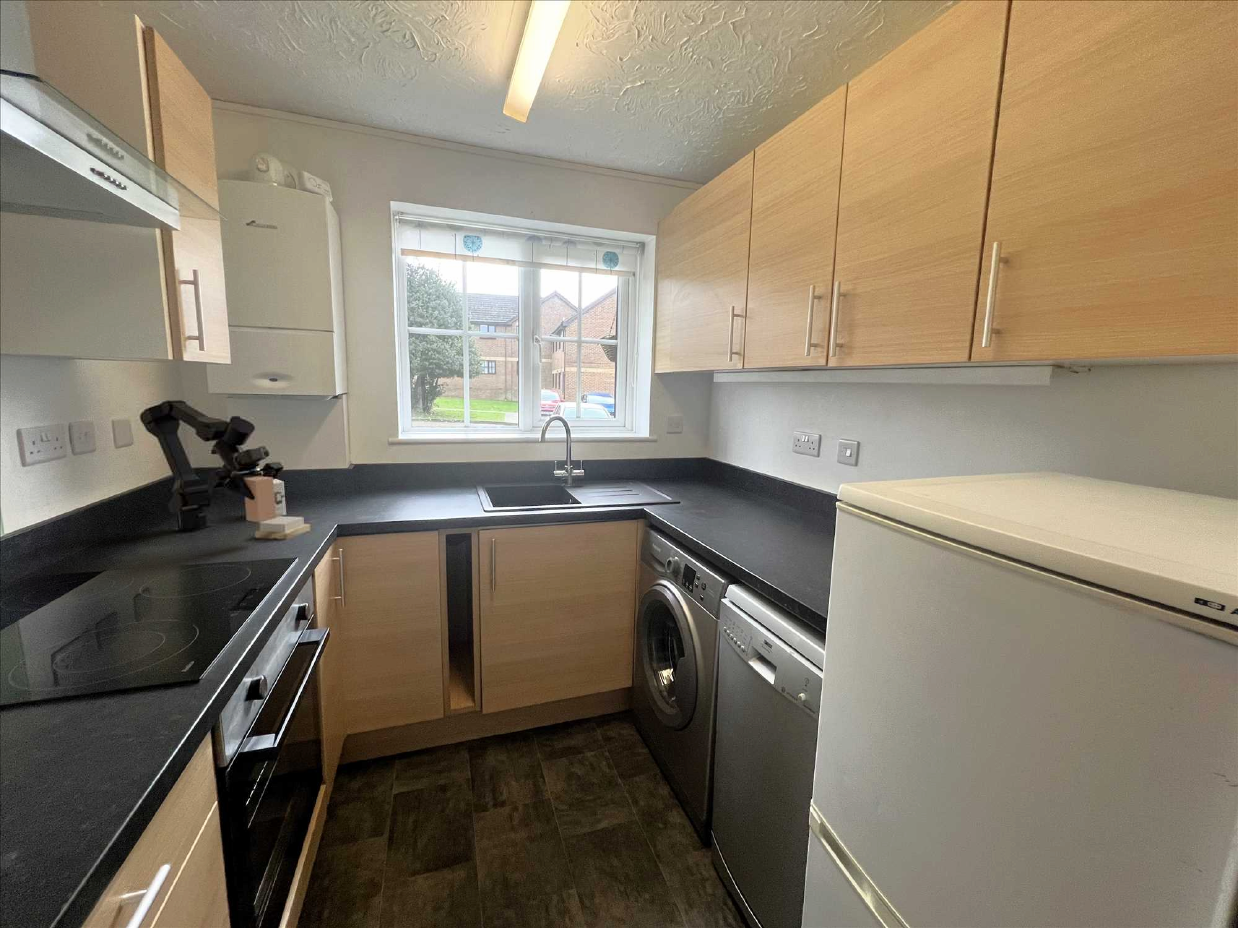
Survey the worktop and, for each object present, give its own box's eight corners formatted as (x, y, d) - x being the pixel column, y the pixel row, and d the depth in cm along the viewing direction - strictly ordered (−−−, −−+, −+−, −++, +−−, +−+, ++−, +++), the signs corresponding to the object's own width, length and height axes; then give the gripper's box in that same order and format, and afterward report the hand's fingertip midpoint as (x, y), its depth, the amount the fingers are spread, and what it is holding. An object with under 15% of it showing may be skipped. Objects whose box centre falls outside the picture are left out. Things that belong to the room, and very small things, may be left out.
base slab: (255, 539, 153) (254, 531, 152) (280, 530, 163) (279, 522, 162) (287, 541, 152) (286, 533, 152) (310, 531, 162) (309, 524, 161)
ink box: (261, 513, 180) (258, 480, 178) (277, 510, 184) (274, 478, 182) (270, 517, 175) (268, 483, 173) (287, 514, 179) (284, 481, 177)
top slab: (260, 530, 153) (259, 522, 153) (279, 523, 161) (279, 516, 161) (285, 532, 153) (284, 524, 152) (304, 525, 160) (303, 517, 160)
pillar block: (246, 520, 146) (243, 478, 144) (263, 516, 151) (260, 476, 149) (258, 522, 145) (255, 480, 143) (276, 518, 149) (273, 477, 147)
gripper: (210, 440, 137) (241, 485, 135) (277, 435, 154) (306, 474, 152) (193, 467, 141) (224, 511, 139) (260, 458, 158) (288, 497, 156)
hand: (263, 497), depth 146 cm, fingers closed on pillar block, 5 cm apart
